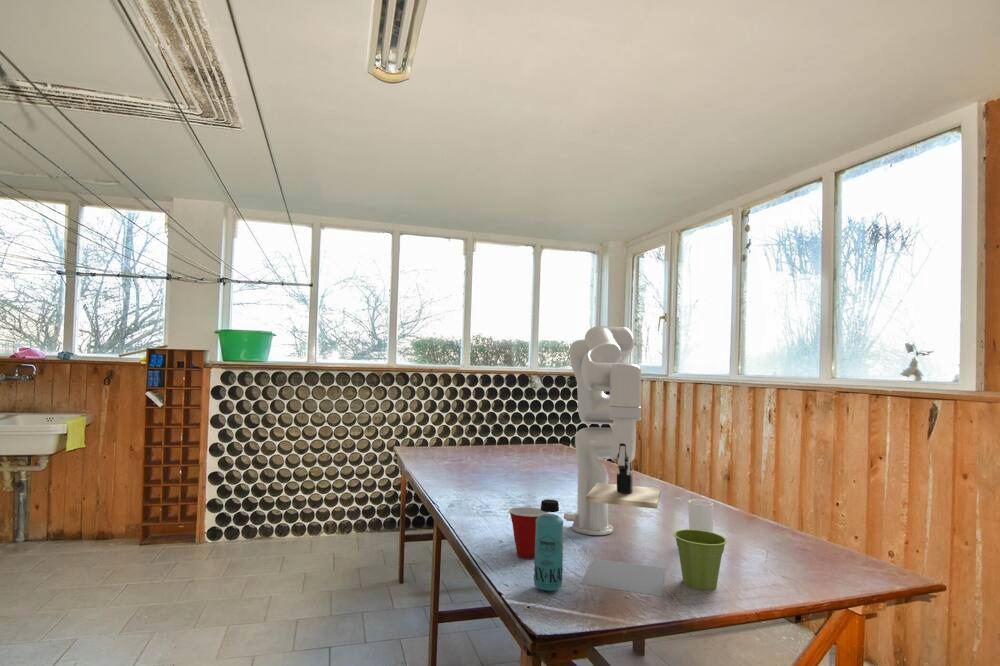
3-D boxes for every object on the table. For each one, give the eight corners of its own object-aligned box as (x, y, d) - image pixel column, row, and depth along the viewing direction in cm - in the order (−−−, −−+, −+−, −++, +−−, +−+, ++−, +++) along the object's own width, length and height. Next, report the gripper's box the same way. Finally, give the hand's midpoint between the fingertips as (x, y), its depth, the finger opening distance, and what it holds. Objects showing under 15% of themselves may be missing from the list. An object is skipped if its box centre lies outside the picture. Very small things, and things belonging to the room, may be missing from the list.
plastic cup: (552, 551, 145) (553, 506, 145) (542, 564, 134) (543, 516, 135) (514, 546, 148) (515, 502, 149) (502, 559, 138) (503, 512, 139)
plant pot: (723, 601, 115) (722, 547, 116) (667, 588, 121) (667, 538, 122) (731, 583, 125) (731, 534, 126) (680, 572, 131) (679, 526, 132)
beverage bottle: (531, 586, 121) (532, 496, 122) (560, 585, 121) (561, 496, 123) (535, 598, 114) (537, 504, 116) (566, 597, 115) (567, 503, 116)
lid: (585, 501, 124) (586, 474, 124) (597, 487, 139) (597, 463, 139) (657, 508, 118) (657, 480, 119) (660, 493, 133) (660, 468, 134)
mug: (711, 549, 148) (710, 506, 149) (686, 545, 152) (686, 502, 153) (716, 540, 157) (716, 499, 158) (693, 536, 161) (693, 496, 161)
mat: (580, 585, 121) (580, 583, 121) (593, 560, 138) (593, 558, 138) (662, 598, 115) (662, 596, 115) (665, 570, 132) (665, 568, 132)
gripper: (614, 410, 139) (613, 481, 138) (604, 415, 123) (604, 495, 122) (643, 412, 136) (643, 484, 135) (637, 417, 121) (637, 499, 119)
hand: (624, 488), depth 129 cm, fingers closed on lid, 3 cm apart
